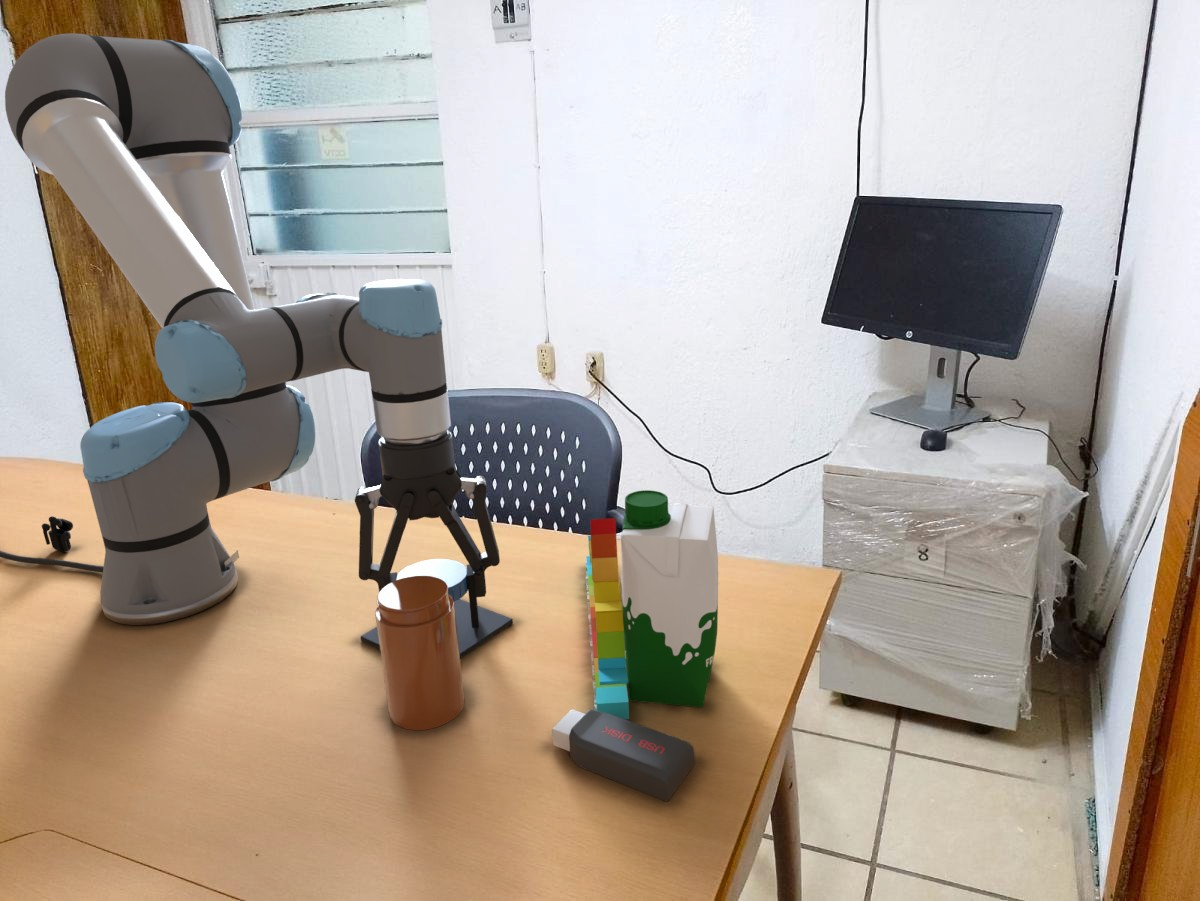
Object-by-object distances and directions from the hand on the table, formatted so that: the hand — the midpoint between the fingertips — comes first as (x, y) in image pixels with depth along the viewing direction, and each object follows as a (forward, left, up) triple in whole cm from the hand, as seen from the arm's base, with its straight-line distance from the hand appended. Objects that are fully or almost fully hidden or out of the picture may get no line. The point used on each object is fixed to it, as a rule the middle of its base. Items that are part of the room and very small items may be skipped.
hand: (437, 625), depth 93 cm
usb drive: (+29, -6, -1) cm, 30 cm away
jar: (+9, -10, -1) cm, 13 cm away
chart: (+16, +10, -1) cm, 19 cm away
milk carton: (+27, +6, -1) cm, 28 cm away
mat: (0, 0, -1) cm, 1 cm away
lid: (0, 0, +6) cm, 6 cm away
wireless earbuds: (-61, -13, -1) cm, 63 cm away
